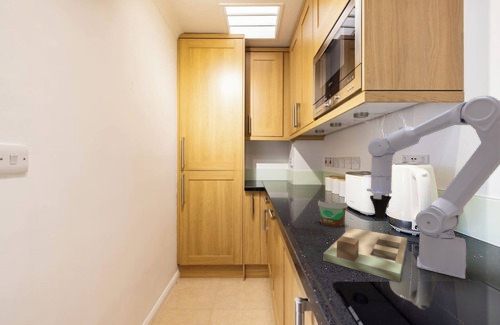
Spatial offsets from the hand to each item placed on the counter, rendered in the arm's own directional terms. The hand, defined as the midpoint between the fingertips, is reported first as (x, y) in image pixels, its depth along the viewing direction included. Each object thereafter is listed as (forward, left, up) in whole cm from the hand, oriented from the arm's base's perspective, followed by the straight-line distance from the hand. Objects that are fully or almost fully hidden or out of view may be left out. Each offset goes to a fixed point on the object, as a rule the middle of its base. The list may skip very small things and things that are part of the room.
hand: (380, 218), depth 74 cm
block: (+5, +19, -7) cm, 21 cm away
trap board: (+2, +6, -9) cm, 11 cm away
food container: (+20, -14, -10) cm, 26 cm away
